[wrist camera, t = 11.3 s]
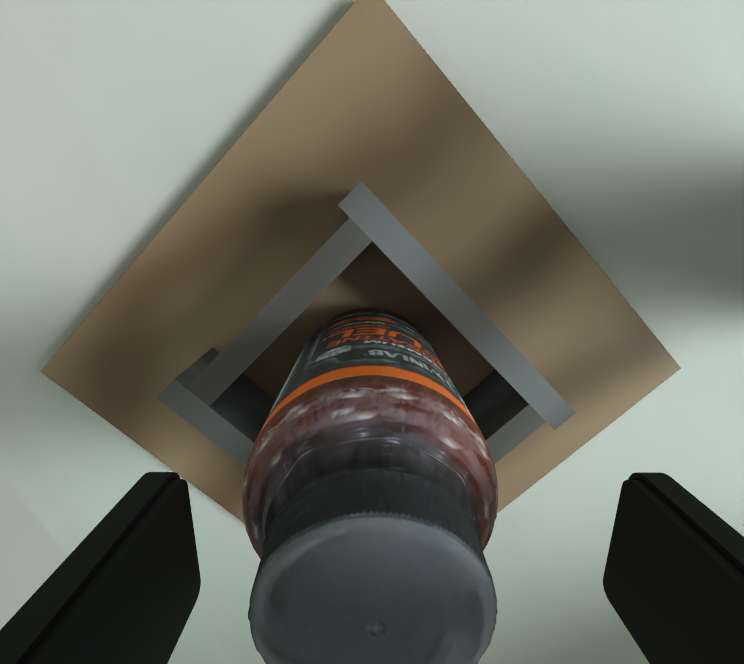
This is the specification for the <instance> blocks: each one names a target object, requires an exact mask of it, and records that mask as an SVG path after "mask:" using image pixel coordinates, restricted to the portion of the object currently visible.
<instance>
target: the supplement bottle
mask: <svg viewBox="0 0 744 664" xmlns="http://www.w3.org/2000/svg"><path fill="white" fill-rule="evenodd" d="M242 505H243V519H244V522H245V526H246V531H247V533H248V536H249V538H250V541H251V543H252V545H253V548H254V550H255V551H256V553H257V554H258V556H259V557H260V559H261V561H260V564H259V567H258V571H257V574H256V578H255V581H254V584H253V588H252V592H251V597H250V607H249V611H248V619H249V621H250V628H251V634H252V638H253V641H254V644H255V647H256V649H257V651H258V652H259V653H260V654H261V656H262V658H263V659H264V661H265V663H266V664H477V663H478V661H479V660H480V658H481V656H482V655H483V653H484V652H485V650H486V649H487V648H488V646H489V644H490V641H491V638H492V634H493V632H494V629H495V623H496V615H497V599H496V593H495V588H494V584H493V580H492V576H491V573H490V571H489V568H488V566H487V563H486V560H485V557H484V554H483V550H484V549H485V547H486V545H487V544H488V541H489V539H490V537H491V534H492V530H493V527H494V522H495V519H496V516H497V509H498V485H497V476H496V470H495V466H494V462H493V459H492V457H491V454H490V451H489V448H488V445H487V443H486V441H485V439H484V437H483V435H482V433H481V431H480V430H479V428H478V426H477V424H476V423H475V421H474V419H473V417H472V416H471V414H470V412H469V411H468V409H467V407H466V405H465V403H464V402H463V400H462V398H461V396H460V394H459V392H458V391H457V389H456V388H455V386H454V384H453V383H452V381H451V380H450V378H449V376H448V374H447V372H446V371H445V369H444V367H443V366H442V364H441V363H440V361H439V359H438V357H437V355H436V354H435V352H434V350H433V349H432V347H431V345H430V344H429V342H428V341H427V339H426V338H425V336H424V335H423V334H422V333H421V332H420V331H419V330H418V329H417V328H416V327H415V326H414V325H413V324H412V323H410V322H409V321H407V320H406V319H404V318H402V317H401V316H398V315H396V314H394V313H391V312H388V311H385V310H380V309H374V308H365V309H356V310H351V311H347V312H344V313H341V314H338V315H336V316H335V317H333V318H331V319H329V320H328V321H326V322H325V323H323V324H322V325H321V326H320V327H319V328H318V329H317V330H316V331H315V332H314V334H313V335H312V336H311V337H310V338H309V340H308V341H307V343H306V345H305V346H304V348H303V350H302V352H301V353H300V355H299V357H298V359H297V361H296V363H295V365H294V367H293V369H292V371H291V373H290V375H289V377H288V379H287V381H286V382H285V384H284V386H283V388H282V390H281V392H280V394H279V396H278V398H277V400H276V402H275V404H274V405H273V407H272V409H271V411H270V413H269V415H268V417H267V419H266V421H265V423H264V425H263V427H262V430H261V431H260V433H259V435H258V437H257V439H256V441H255V443H254V446H253V448H252V451H251V454H250V456H249V458H248V462H247V466H246V470H245V474H244V479H243V488H242Z"/></svg>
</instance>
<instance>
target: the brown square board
mask: <svg viewBox="0 0 744 664" xmlns="http://www.w3.org/2000/svg"><path fill="white" fill-rule="evenodd" d="M365 308H374V309H380V310H385V311H388V312H391V313H394V314H396V315H398V316H401V317H402V318H404V319H406V320H407V321H409V322H410V323H412V324H413V325H414V326H415V327H416V328H417V329H418V330H419V331H420V332H421V333H422V334H423V335H424V336H425V338H426V339H427V341H428V342H429V344H430V345H431V347H432V349H433V350H434V352H435V354H436V355H437V357H438V359H439V361H440V363H441V364H442V366H443V367H444V369H445V371H446V372H447V374H448V376H449V378H450V380H451V381H452V383H453V384H454V386H455V388H456V389H457V391H458V392H459V394H460V396H461V398H462V400H463V402H464V403H465V405H466V407H467V409H468V411H469V412H470V414H471V416H472V417H473V419H474V421H475V423H476V424H477V426H478V428H479V430H480V431H481V433H482V435H483V437H484V439H485V441H486V443H487V445H488V448H489V451H490V454H491V457H492V459H493V462H494V466H495V470H496V476H497V485H498V509H497V513H498V512H499V511H501V510H502V509H503V508H504V507H506V506H507V505H508V504H509V503H511V502H512V501H513V500H515V499H516V498H517V497H518V496H520V495H521V494H522V493H523V492H525V491H526V490H527V489H528V488H530V487H531V486H532V485H534V484H535V483H536V482H537V481H539V480H540V479H541V478H542V477H544V476H545V475H546V474H547V473H549V472H550V471H551V470H553V469H554V468H555V467H556V466H558V465H559V464H560V463H561V462H563V461H564V460H565V459H566V458H568V457H569V456H570V455H572V454H573V453H574V452H575V451H577V450H578V449H579V448H580V447H582V446H583V445H584V444H585V443H587V442H588V441H589V440H591V439H592V438H593V437H594V436H596V435H597V434H598V433H599V432H601V431H602V430H603V429H604V428H606V427H607V426H608V425H610V424H611V423H612V422H613V421H615V420H616V419H617V418H618V417H620V416H621V415H622V414H623V413H625V412H626V411H627V410H629V409H630V408H631V407H632V406H634V405H635V404H636V403H637V402H639V401H640V400H641V399H642V398H644V397H645V396H646V395H648V394H649V393H650V392H651V391H653V390H654V389H655V388H656V387H658V386H659V385H660V384H662V383H663V382H664V381H665V380H667V379H668V378H669V377H670V376H672V375H673V374H674V373H675V372H677V371H678V370H679V369H681V368H680V366H679V365H678V364H677V363H676V361H675V360H674V359H673V358H672V356H671V355H670V354H669V353H668V351H667V350H666V349H665V348H664V346H663V345H662V344H661V343H660V341H659V340H658V339H657V338H656V337H655V335H654V334H653V333H652V332H651V330H650V329H649V328H648V327H647V325H646V324H645V323H644V322H643V320H642V319H641V318H640V317H639V315H638V314H637V313H636V312H635V310H634V309H633V308H632V307H631V306H630V304H629V303H628V302H627V301H626V299H625V298H624V297H623V296H622V294H621V293H620V292H619V291H618V289H617V288H616V287H615V286H614V284H613V283H612V282H611V281H610V279H609V278H608V277H607V276H606V275H605V273H604V272H603V271H602V270H601V268H600V267H599V266H598V265H597V263H596V262H595V261H594V260H593V258H592V257H591V256H590V255H589V253H588V252H587V251H586V250H585V248H584V247H583V246H582V245H581V244H580V242H579V241H578V240H577V239H576V237H575V236H574V235H573V234H572V232H571V231H570V230H569V229H568V227H567V226H566V225H565V224H564V222H563V221H562V220H561V219H560V217H559V216H558V215H557V214H556V213H555V211H554V210H553V209H552V208H551V206H550V205H549V204H548V203H547V201H546V200H545V199H544V198H543V196H542V195H541V194H540V193H539V191H538V190H537V189H536V188H535V186H534V185H533V184H532V183H531V181H530V180H529V179H528V178H527V177H526V175H525V174H524V173H523V172H522V170H521V169H520V168H519V167H518V165H517V164H516V163H515V162H514V160H513V159H512V158H511V157H510V155H509V154H508V153H507V152H506V150H505V149H504V148H503V147H502V146H501V144H500V143H499V142H498V141H497V139H496V138H495V137H494V136H493V134H492V133H491V132H490V131H489V129H488V128H487V127H486V126H485V124H484V123H483V122H482V121H481V119H480V118H479V117H478V116H477V115H476V113H475V112H474V111H473V110H472V108H471V107H470V106H469V105H468V103H467V102H466V101H465V100H464V98H463V97H462V96H461V95H460V93H459V92H458V91H457V90H456V88H455V87H454V86H453V85H452V84H451V82H450V81H449V80H448V79H447V77H446V76H445V75H444V74H443V72H442V71H441V70H440V69H439V67H438V66H437V65H436V64H435V62H434V61H433V60H432V59H431V57H430V56H429V55H428V54H427V53H426V51H425V50H424V49H423V48H422V46H421V45H420V44H419V43H418V41H417V40H416V39H415V38H414V36H413V35H412V34H411V33H410V31H409V30H408V29H407V28H406V26H405V25H404V24H403V23H402V22H401V20H400V19H399V18H398V17H397V15H396V14H395V13H394V12H393V10H392V9H391V8H390V7H389V5H388V4H387V3H386V2H385V0H356V1H355V3H354V4H353V5H352V6H351V7H350V8H349V10H348V11H347V12H346V13H345V14H344V16H343V17H342V18H341V19H340V20H339V21H338V23H337V24H336V25H335V26H334V27H333V28H332V30H331V31H330V32H329V33H328V34H327V36H326V37H325V38H324V39H323V40H322V41H321V43H320V44H319V45H318V46H317V47H316V48H315V50H314V51H313V52H312V53H311V54H310V55H309V57H308V58H307V59H306V60H305V61H304V63H303V64H302V65H301V66H300V67H299V68H298V70H297V71H296V72H295V73H294V74H293V75H292V77H291V78H290V79H289V80H288V81H287V83H286V84H285V85H284V86H283V87H282V88H281V90H280V91H279V92H278V93H277V94H276V95H275V97H274V98H273V99H272V100H271V101H270V102H269V104H268V105H267V106H266V107H265V108H264V110H263V111H262V112H261V113H260V114H259V115H258V117H257V118H256V119H255V120H254V121H253V122H252V124H251V125H250V126H249V127H248V128H247V130H246V131H245V132H244V133H243V134H242V135H241V137H240V138H239V139H238V140H237V141H236V142H235V144H234V145H233V146H232V147H231V148H230V149H229V151H228V152H227V153H226V154H225V155H224V157H223V158H222V159H221V160H220V161H219V162H218V164H217V165H216V166H215V167H214V168H213V169H212V171H211V172H210V173H209V174H208V175H207V176H206V178H205V179H204V180H203V181H202V182H201V184H200V185H199V186H198V187H197V188H196V189H195V191H194V192H193V193H192V194H191V195H190V196H189V198H188V199H187V200H186V201H185V202H184V204H183V205H182V206H181V207H180V208H179V209H178V211H177V212H176V213H175V214H174V215H173V216H172V218H171V219H170V220H169V221H168V222H167V223H166V225H165V226H164V227H163V228H162V229H161V231H160V232H159V233H158V234H157V235H156V236H155V238H154V239H153V240H152V241H151V242H150V243H149V245H148V246H147V247H146V248H145V249H144V251H143V252H142V253H141V254H140V255H139V256H138V258H137V259H136V260H135V261H134V262H133V263H132V265H131V266H130V267H129V268H128V269H127V270H126V272H125V273H124V274H123V275H122V276H121V278H120V279H119V280H118V281H117V282H116V283H115V285H114V286H113V287H112V288H111V289H110V290H109V292H108V293H107V294H106V295H105V296H104V298H103V299H102V300H101V301H100V302H99V303H98V305H97V306H96V307H95V308H94V309H93V310H92V312H91V313H90V314H89V315H88V316H87V317H86V319H85V320H84V321H83V322H82V323H81V325H80V326H79V327H78V328H77V329H76V330H75V332H74V333H73V334H72V335H71V336H70V337H69V339H68V340H67V341H66V342H65V343H64V344H63V346H62V347H61V348H60V349H59V350H58V352H57V353H56V354H55V355H54V356H53V357H52V359H51V360H50V361H49V362H48V363H47V364H46V366H45V367H44V368H43V369H42V370H41V372H42V373H43V374H45V375H46V376H47V377H49V378H50V379H51V380H53V381H54V382H56V383H57V384H58V385H60V386H61V387H62V388H64V389H65V390H66V391H68V392H69V393H70V394H72V395H73V396H74V397H76V398H77V399H78V400H80V401H81V402H82V403H84V404H85V405H86V406H88V407H89V408H90V409H92V410H93V411H94V412H96V413H97V414H99V415H100V416H101V417H103V418H104V419H105V420H107V421H108V422H109V423H111V424H112V425H113V426H115V427H116V428H117V429H119V430H120V431H121V432H123V433H124V434H125V435H127V436H128V437H129V438H131V439H132V440H133V441H135V442H136V443H137V444H139V445H140V446H141V447H143V448H144V449H146V450H147V451H148V452H150V453H151V454H152V455H154V456H155V457H156V458H158V459H159V460H160V461H162V462H163V463H164V464H166V465H167V466H168V467H170V468H171V469H172V470H174V471H175V472H176V473H178V474H179V475H180V476H182V477H183V478H184V479H186V480H187V481H189V482H190V483H191V484H193V485H194V486H195V487H197V488H198V489H199V490H201V491H202V492H203V493H205V494H206V495H207V496H209V497H210V498H211V499H213V500H214V501H215V502H217V503H218V504H219V505H221V506H222V507H223V508H225V509H226V510H227V511H229V512H230V513H231V514H233V515H234V516H236V517H237V518H238V519H240V520H241V521H242V522H244V519H243V505H242V488H243V479H244V474H245V470H246V466H247V462H248V458H249V456H250V454H251V451H252V448H253V446H254V443H255V441H256V439H257V437H258V435H259V433H260V431H261V430H262V427H263V425H264V423H265V421H266V419H267V417H268V415H269V413H270V411H271V409H272V407H273V405H274V404H275V402H276V400H277V398H278V396H279V394H280V392H281V390H282V388H283V386H284V384H285V382H286V381H287V379H288V377H289V375H290V373H291V371H292V369H293V367H294V365H295V363H296V361H297V359H298V357H299V355H300V353H301V352H302V350H303V348H304V346H305V345H306V343H307V341H308V340H309V338H310V337H311V336H312V335H313V334H314V332H315V331H316V330H317V329H318V328H319V327H320V326H321V325H322V324H323V323H325V322H326V321H328V320H329V319H331V318H333V317H335V316H336V315H338V314H341V313H344V312H347V311H351V310H356V309H365ZM244 523H245V522H244Z"/></svg>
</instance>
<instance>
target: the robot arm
mask: <svg viewBox="0 0 744 664" xmlns="http://www.w3.org/2000/svg"><path fill="white" fill-rule="evenodd" d="M200 583H201V580H200V571H199V564H198V557H197V550H196V542H195V535H194V528H193V520H192V513H191V506H190V499H189V491H188V485H187V482H186V480H184V479H180V476H179V475H178V473H175V472H149V473H146V474H144V475H143V476H142V477H141V478H140V479H139V480H138V482H137V483H136V484H135V485H134V486H133V487H132V488H131V489H130V490H129V491H128V492H127V493H126V495H125V496H124V497H123V498H122V499H121V500H120V501H119V502H118V503H117V504H116V505H115V506H114V508H113V509H112V510H111V511H110V512H109V513H108V514H107V515H106V516H105V517H104V518H103V519H102V521H101V522H100V523H99V524H98V525H97V526H96V527H95V528H94V529H93V530H92V531H91V532H90V534H89V535H88V536H87V537H86V538H85V539H84V540H83V541H82V542H81V543H80V544H79V545H78V547H77V548H76V549H75V550H74V551H73V552H72V553H71V554H70V555H69V556H68V557H67V558H66V560H65V561H64V562H63V563H62V564H61V565H60V566H59V567H58V568H57V569H56V570H55V571H54V573H53V574H52V575H51V576H50V577H49V578H48V579H47V580H46V581H45V582H44V583H43V585H42V586H41V587H40V588H39V589H38V590H37V591H36V592H35V593H34V594H33V595H32V596H31V598H30V599H29V600H28V601H27V602H26V603H25V604H24V605H23V606H22V607H21V609H20V610H19V611H18V612H17V613H16V614H15V615H14V616H13V617H12V618H11V619H10V620H9V621H8V622H7V624H6V625H5V626H4V627H3V628H2V629H1V630H0V664H167V663H168V661H169V659H170V656H171V654H172V652H173V650H174V648H175V646H176V644H177V641H178V639H179V637H180V635H181V633H182V631H183V629H184V626H185V624H186V622H187V620H188V618H189V616H190V614H191V611H192V609H193V607H194V605H195V603H196V600H197V598H198V595H199V591H200ZM603 586H604V590H605V593H606V596H607V598H608V600H609V601H610V603H611V604H612V606H613V608H614V609H615V611H616V612H617V614H618V615H619V617H620V618H621V620H622V621H623V623H624V625H625V626H626V628H627V629H628V631H629V632H630V634H631V635H632V637H633V638H634V640H635V642H636V643H637V645H638V646H639V648H640V649H641V651H642V652H643V654H644V655H645V657H646V659H647V660H648V662H649V663H650V664H744V537H743V536H742V535H741V534H739V533H738V532H737V531H736V530H735V529H733V528H732V527H731V526H730V525H729V524H727V523H726V522H725V521H724V520H722V519H721V518H720V517H719V516H718V515H716V514H715V513H714V512H713V511H711V510H710V509H709V508H708V507H707V506H705V505H704V504H703V503H702V502H700V501H699V500H698V499H697V498H696V497H694V496H693V495H692V494H691V493H689V492H688V491H687V490H686V489H685V488H683V487H682V486H681V485H680V484H678V483H677V482H676V481H675V480H674V479H672V478H671V477H670V476H668V475H667V474H664V473H633V474H632V475H631V476H630V477H629V479H628V480H626V481H624V482H623V484H622V488H621V493H620V498H619V503H618V508H617V513H616V518H615V523H614V527H613V532H612V537H611V542H610V547H609V552H608V557H607V562H606V567H605V572H604V577H603Z"/></svg>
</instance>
